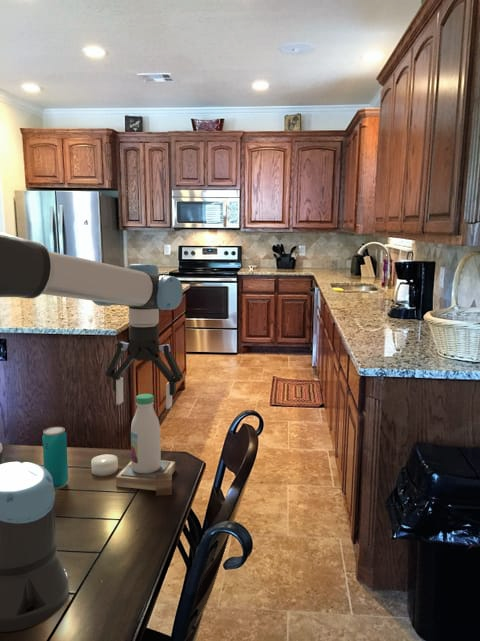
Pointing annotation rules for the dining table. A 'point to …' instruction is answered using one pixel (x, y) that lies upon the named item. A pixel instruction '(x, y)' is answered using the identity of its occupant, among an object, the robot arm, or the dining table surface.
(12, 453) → the dining table surface
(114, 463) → the white rounded block
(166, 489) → the tan wooden block
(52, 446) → the beverage can
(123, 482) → the wooden picture frame
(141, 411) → the milk bottle
